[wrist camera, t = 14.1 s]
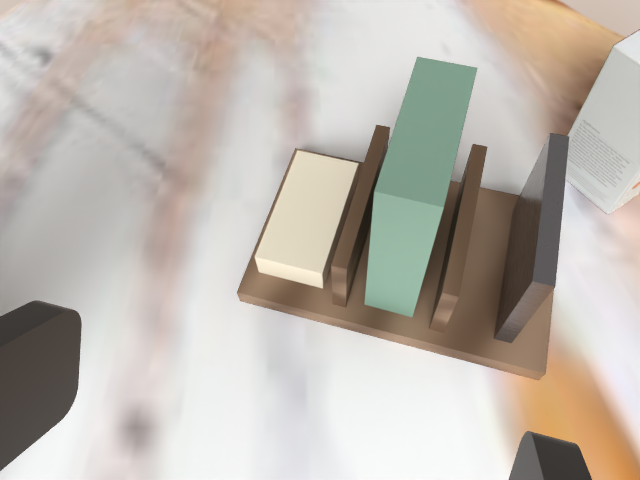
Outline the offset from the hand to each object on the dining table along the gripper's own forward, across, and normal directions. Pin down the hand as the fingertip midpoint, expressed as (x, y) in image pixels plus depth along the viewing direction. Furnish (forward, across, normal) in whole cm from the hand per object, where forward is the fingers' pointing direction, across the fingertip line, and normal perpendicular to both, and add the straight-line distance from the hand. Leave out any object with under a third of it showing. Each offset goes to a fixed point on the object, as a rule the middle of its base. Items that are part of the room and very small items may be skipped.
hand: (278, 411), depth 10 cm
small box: (+43, -16, -2) cm, 46 cm away
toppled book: (+33, +6, +5) cm, 34 cm away
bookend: (+33, -9, +5) cm, 34 cm away
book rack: (+34, -1, +6) cm, 35 cm away
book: (+32, -1, +6) cm, 33 cm away
